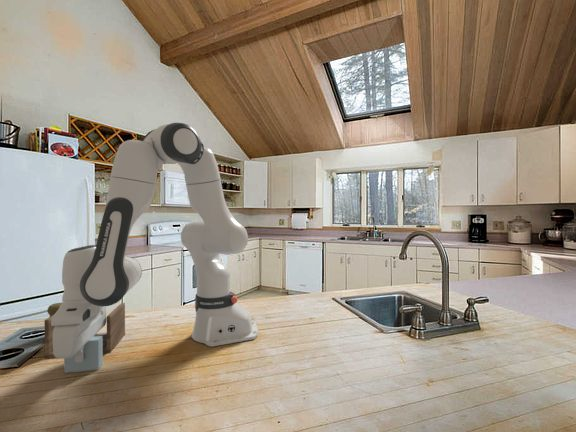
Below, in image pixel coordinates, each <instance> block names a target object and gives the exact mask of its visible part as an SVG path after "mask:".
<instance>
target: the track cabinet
mask: <svg viewBox="0 0 576 432" xmlns="http://www.w3.org/2000/svg"><path fill="white" fill-rule="evenodd" d="M52 317H53V315H52V316H51V317H50V316H49V317H47V318H45V319H44V359H50V358H51V359H52V358H56V357H55V356H54V354H53V330H54V328H55V326H52V325H51V318H52ZM125 335H126V303H125V302H121V303H120V304H119V305H118V306H117V307H115V308H114V309H112V311H111V312H110V313H108V314H107V315H106V332H105V333H97V334H95V336H102V338H103V354H107V353H112V351H113V350H114V349H115V347H117V346H118V344H119V343H120V342H121V341H122V339H123V338H124V337H125Z"/></svg>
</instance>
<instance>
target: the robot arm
mask: <svg viewBox="0 0 576 432" xmlns="http://www.w3.org/2000/svg"><path fill="white" fill-rule="evenodd" d="M175 164H177V165H179V166H180V168H181V170H182V172H183V174H184V181H185V185H186V192H187V198H188V201H189V206H190V208H191V209H192V210H193V211H194V212H195V213H196V214H198V215H199V218H201V220H198V221H193V222H189V223H187V224H185V225H184V227H182V230H181V233H180V240H181V244H182V245H183V246H184V247H185V249H186V250H187V251H188V253H189V255H190V256H191V260H192V261H193V264H194V269H195V274H196V293H195V298H194V308H195V320H194V324H193V325H194V326H193V330H192V333H191V338H192V339H193V340H194V341H196V342H197V343H201V344H204V345H206V346H208V347H216V346H217V347H218V346H223V345H228V344H229V345H230V344H234V343H240V342H245V341H246V342H247V341H251V340H255V339H256V338H257V337H258V335H259V327H258V325H257V323H256V322H255V321H253V320H252V315H251V314H250V312H249V310H248V309H247V308H245V307H243V306H242V305H240V304H239V303H238V297H237V295H236V293H235V291H231V271H230V269H229V267H228V266H227V265H226V264H225V263H224V262H223V260H222V258H221V257H220V255H222V256H223V255H225V256H228V255H229V256H230V255H236V254H237V255H238V254H240V253H242V252H244V250H245V249H246V247H247V245H248V242H249V235H248V231H247V229H246V228H245V226H243V225H242V224H241V223H240V222H238V220H237V219H236V218H235V217H234V216H233V214H232V213H231V211H230V209H229V207H228V205H227V202H226V200H225V194H224V190H223V185H222V180H221V174H220V170H219V165H218V162H217V159H216V157H215V154H214V153H213V151H212V150H211V148H209V147H207V146H206V147H205V145H204V144H203V142H202V140H201V138H200V136H199V134H198V132H197V131H196V130H195V129H194V128H193V127H192V126H191V125H189V124H186V123H183V122H172V123H168V124H167V123H166V124H164V125H163V124H162V125H160V126H158V127H156V128H154V129H152V130H150V131H149V132H148V133H147V134H145V135H144V137H143V138H142V139H141V140H140V139H139V140H138V139H127V140H125V141H122V143H121V144H120V145H119V147H118V149H117V151H116V154H115V157H114V159H113V164H112V166H111V167H112V168H111V173H110V179H109V182H108V183H109V185H108V192H107V199H106V203H105V207H104V212H103V215H102V219H101V223H100V226H99V231H98V235H97V239H96V244H91V245H90V244H89V245H85V246H80V247H75V248H73V249H70V250H68V251H67V252H66V253H65V255H64V257H63V259H62V260H63V261H62V269H61V271H62V272H61V283H62V285H63V294H62V297H61V300H62V302H61V303H62V304H61V305H60V308H59V309H58V311H57V312H56V313H55V314H54V315H53V317H52V318H51V325H52V326H55V328H54V330H53V354H54V356H55V357H54V358H56V360H57V359H64V358H70V357H72V356H75V362H76V363H78V362H82V361H83V360H84V359H85V353H84V352H83V349H84V345H85V344H86V343H87V342H88V341H89V340H90V339H91V338H92V337H95V334H99V332H100V331H101V330H102V329H103V328H104V327H105V326H106V325H107V309H106V307H109V306H112V305H115V304H117V303H119V302H120V301H121V300H122V299H123V298H124V297H125V295H126V294H127V293H128V292H129V291H130V290H131V289H132V288H133V287H135V286H136V284H138V282H139V281H141V280H140V279H141V277H142V273H143V269H142V267H141V266H142V265H141V264H140V263H139V260H137V259H135V258H134V257H132V256H126V254H127V253H126V252H127V248H128V243H129V238H130V233H131V231H132V228H133V226H134V224H135V223H136V222H137V221H138V219H139V218H140V217H141V216H142V215H144V213H145V212H147V210H149V209H150V207H151V205H152V202H153V200H154V196H155V193H156V186H157V180H158V179H157V178H158V173H159V171H160V169H161V167H162V166H163V165H175Z"/></svg>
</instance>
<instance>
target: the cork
mask: <svg viewBox="0 0 576 432" xmlns="http://www.w3.org/2000/svg"><path fill="white" fill-rule="evenodd" d="M61 304H62V302H57V303H55V302H54V303H52V304H50V305H48V308H47V314H48V315H49V317H51V316H52V315H54V314H55V313H56V312H57V311H58V309H59V308H60V305H61Z"/></svg>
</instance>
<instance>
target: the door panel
mask: <svg viewBox="0 0 576 432" xmlns="http://www.w3.org/2000/svg"><path fill="white" fill-rule="evenodd" d="M83 352H84V353H85V359H84V360H83V361H82V362H78V363H76V362H75V356H72V357H70V358H63V359H64V362H63V364H64V365H63V366H64V371H63V372H64V374H67V373H78V372H87V371H89V372H90V371H97V370H98V371H99V369H101V367H102V366H103V363H104V361H103V360H104V359H103V357H104V355H103V354H104V353H103V338H102V336H95V337H92V338H91V339H90V340H89V341H88V342H87V343H86V344H85V345H84V349H83Z"/></svg>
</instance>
